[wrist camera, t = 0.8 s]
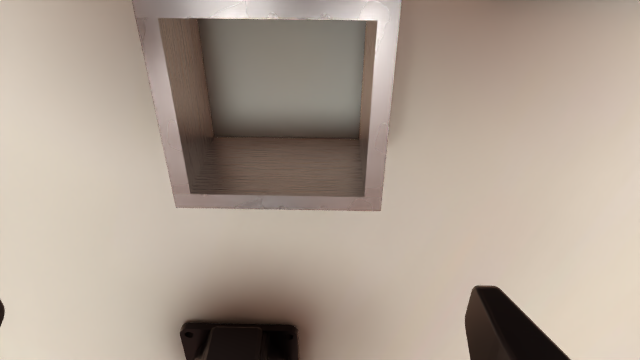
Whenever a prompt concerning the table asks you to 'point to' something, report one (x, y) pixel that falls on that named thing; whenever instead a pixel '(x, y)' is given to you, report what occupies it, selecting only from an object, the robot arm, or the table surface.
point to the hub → (265, 152)
